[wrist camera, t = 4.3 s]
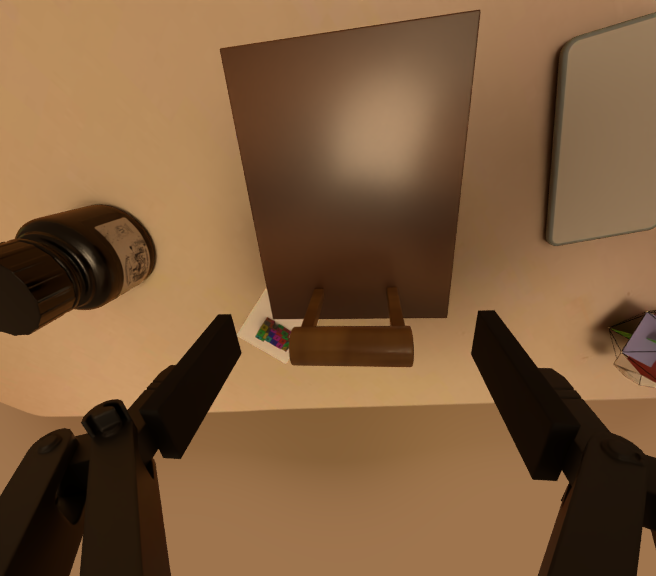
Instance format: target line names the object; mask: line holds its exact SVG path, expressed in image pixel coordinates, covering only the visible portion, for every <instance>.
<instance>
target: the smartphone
mask: <svg viewBox="0 0 656 576" xmlns="http://www.w3.org/2000/svg"><path fill="white" fill-rule="evenodd" d="M654 227H656V12H655V13H652V14H648V15H645V16H642V17H639V18H635V19H632V20H629V21H625V22H622V23H619V24H616V25H612V26H609V27H606V28H602V29H599V30H596V31H592V32H589V33H586V34H583V35H579V36H576V37H574V38H572V39H571V40H569V41H568V42H567V43H566V44H565V45H564V47H563V48H562V50H561V52H560V56H559V69H558V82H557V95H556V108H555V122H554V135H553V148H552V161H551V175H550V188H549V201H548V215H547V228H546V241H547V242H548V243H549V244H551V245H553V246H560V245H565V244H571V243H577V242H583V241H588V240H594V239H600V238H606V237H611V236H617V235H623V234H629V233H634V232H640V231H646V230H650V229H653V228H654Z"/></svg>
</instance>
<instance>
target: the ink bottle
mask: <svg viewBox="0 0 656 576" xmlns="http://www.w3.org/2000/svg"><path fill="white" fill-rule="evenodd" d="M153 265H154V250H153V246H152V243H151V240H150V238H149V236H148V234H147V233H146V231H145V230H144V228H143V227H142V226H141V225H140V224H139V223H138V222H137V221H136V220H135V219H133V218H132V217H131V216H129V215H128V214H126V213H125V212H123V211H121V210H119V209H116V208H113V207H110V206H106V205H91V206H86V207H82V208H78V209H74V210H69V211H65V212H61V213H57V214H53V215H48V216H44V217H40V218H37V219H33V220H31V221H29V222H27V223H25V224H24V225H23V226H22V227H21V228H20V229H19V231H18V232H17V234H16V237H15V239H13V240H9V241H7V242H1V243H0V332H4V333H8V334H12V335H14V336H17V335H29V334H31V333H33V332H35V331H36V330H38V329H40V328H42V327H43V326H45V325H47V324H49V323H50V322H52V321H54V320H56V319H57V318H59V317H61V316H62V315H64V314H65V313H67V312H69V311H71V310H73V309H77V310H91V309H96V308H99V307H101V306H103V305H105V304H107V303H109V302H110V301H112V300H114V299H116V298H117V297H119V296H120V295H122V294H124V293H125V292H127V291H128V290H130V289H131V288H133V287H135V286H136V285H138V284H139V283H141V282H142V281H143V280H145V279H146V278H147V277H148V276H149V274H150V273H151V271H152V269H153Z"/></svg>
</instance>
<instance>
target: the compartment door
mask: <svg viewBox="0 0 656 576" xmlns="http://www.w3.org/2000/svg"><path fill="white" fill-rule="evenodd" d="M479 20H480V10H474V11H467V12H460V13H454V14H447V15H440V16H434V17H427V18H420V19H414V20H407V21H400V22H394V23H387V24H380V25H373V26H367V27H360V28H353V29H347V30H340V31H333V32H327V33H320V34H313V35H307V36H300V37H293V38H287V39H280V40H273V41H267V42H260V43H253V44H247V45H240V46H233V47H227V48H221V49H220V53H221V58H222V63H223V68H224V73H225V78H226V83H227V89H228V94H229V99H230V104H231V109H232V114H233V119H234V124H235V129H236V134H237V139H238V144H239V149H240V154H241V160H242V165H243V170H244V175H245V180H246V185H247V190H248V195H249V200H250V205H251V210H252V215H253V220H254V225H255V230H256V236H257V241H258V246H259V251H260V256H261V261H262V266H263V271H264V276H265V281H266V286H267V291H268V296H269V301H270V307H271V312H272V317H273V319H304V320H303V322H302V325H301V327H293V328H292V330H291V333H290V338H289V357H290V361H291V364H292V365H304V366H374V367H412V366H413V361H414V345H413V335H412V330H411V327H410V326H405V324H404V319H403V318H447V314H448V305H449V296H450V286H451V277H452V268H453V259H454V250H455V240H456V231H457V222H458V213H459V204H460V195H461V185H462V176H463V167H464V158H465V149H466V139H467V130H468V121H469V112H470V103H471V94H472V84H473V75H474V66H475V57H476V48H477V38H478V29H479ZM373 318H390V326H319V327H316V326H317V323H318V319H373Z"/></svg>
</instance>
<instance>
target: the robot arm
mask: <svg viewBox="0 0 656 576" xmlns="http://www.w3.org/2000/svg"><path fill="white" fill-rule="evenodd" d="M240 355H241V349H240V345H239V342H238V338H237V334H236V331H235V327H234V323H233V320H232V316H231V314H218V315H217V317H216V318H215V319H214V320H213V321H212V323H211V324H210V325H209V326H208V327H207V329H206V330H205V331H204V332H203V333H202V335H201V336H200V337H199V338H198V339H197V341H196V342H195V343H194V344H193V345H192V347H191V348H190V349H189V350H188V351H187V353H186V354H185V355H184V356H183V357H182V359H181V360H180V361H179V362H178V363H177V365H170V366H169V367H168V368H166V369H165V370H163V371H162V372H160V374H159V375H158V376H157V377H156V378H155V379H154V380H153V383H151V384H150V385H149V386H148V387H147V390H145V391H144V392H143V393H142V394H141V395H140V396H139V398H138V399H137V400H136V401H135V402H134V403H133V404H132V406H131V407H130V408H129V409H128V410H127V409H126V407H125V405H124V403H123V402H122V401H121V400H118V399H115V400H109V401H106V402H103V403H101V404H99V405H97V406H95V407H94V408H93V409H91V410H90V411H89V412H88V413H87V414H86V415H85V416H84V417H83V419H82V422H81V423H82V425H83V426H84V428H85V429H86V431H87V433H88V434H83V435H79V436H74V434H73V433H72V431H71V430H70V429H66V428H64V429H58V430H55V431H53V432H51V433H49V434H47V435H45V436H43V437H42V438H40V439H39V440H38V441H37V442H35V443H34V444H33V445H32V447H31V448H30V449H29V450H28V452H27V453H26V455H25V456H24V458H23V460H22V461H21V463H20V465H19V466H18V468H17V469H16V471H15V473H14V474H13V476H12V478H11V479H10V481H9V483H8V484H7V486H6V487H5V489H4V491H3V493H2V494H1V496H0V576H69V575H70V572H71V569H72V566H73V563H74V560H75V557H76V554H77V551H78V548H79V545H80V542H81V539H82V536H83V543H82V555H81V567H80V576H171V573H170V566H169V558H168V551H167V544H166V537H165V529H164V522H163V515H162V507H161V500H160V492H159V485H158V478H157V471H156V463H155V461H154V459H153V456H154V455H155V453H156V452H157V450H158V449H159V450H160V452H161V454H162V456H163V458H174V459H181V457H182V456H183V454H184V452H185V450H186V449H187V447H188V445H189V444H190V442H191V440H192V438H193V437H194V435H195V433H196V431H197V430H198V428H199V426H200V425H201V423H202V421H203V419H204V417H205V416H206V414H207V412H208V411H209V409H210V407H211V405H212V404H213V402H214V400H215V399H216V397H217V395H218V393H219V392H220V390H221V388H222V386H223V385H224V383H225V381H226V379H227V378H228V376H229V374H230V373H231V371H232V369H233V367H234V366H235V364H236V362H237V360H238V359H239V357H240ZM471 355H472V357H473V359H474V361H475V363H476V365H477V367H478V369H479V371H480V373H481V375H482V377H483V380H484V382H485V384H486V386H487V388H488V390H489V392H490V394H491V396H492V398H493V400H494V402H495V404H496V406H497V408H498V410H499V412H500V414H501V416H502V418H503V420H504V422H505V424H506V426H507V428H508V430H509V432H510V434H511V436H512V438H513V441H514V442H515V445H516V447H517V449H518V451H519V453H520V455H521V457H522V459H523V461H524V463H525V465H526V467H527V469H528V471H529V473H530V475H531V477H532V479H533V480H550V481H557V480H558V477H559V475H560V473H561V471H563V473H564V474H565V476H566V478H567V479H568V481H569V484H568V486H567V488H566V491H565V493H564V495H563V497H562V499H561V501H562V504H561V507H560V510H559V513H558V516H557V519H556V523H555V525H554V528H553V531H552V534H551V537H550V540H549V543H548V546H547V550H546V553H545V556H544V559H543V561H542V565H541V568H540V571H539V574H538V576H637V567H638V560H639V551H640V542H641V535H642V527H645V528H648V529H650V530H651V532H652V536H653V540H654V543H655V547H656V458H654V457H651V456H648V455H645V454H644V453H643V452H642V450H641V449H639V448H638V447H637V446H636V445H634V444H633V443H632V442H630V441H628V440H627V439H625V438H623V437H621V436H618V435H616V434H613V433H611V432H610V431H609V430H608V429H607V428H606V426H605V425H604V424H603V423H602V422H601V420H600V419H599V418H598V417H597V416H596V414H595V413H594V412H593V411H592V410H591V408H590V407H589V406H588V405H587V404H586V403H585V401H584V400H583V399H581V396H580V395H579V394H578V393H577V392H576V390H574V388H573V387H572V386H571V384H570V383H569V382H568V381H567V380H566V378H565V377H563V376H562V375H560V374H559V373H557V372H556V371H555V370H553V369H552V368H537V366H536V365H535V364H534V362H533V361H532V360H531V358H530V357H529V356H528V354H527V353H526V352H525V350H524V349H523V348H522V346H521V345H520V344H519V342H518V341H517V340H516V338H515V337H514V336H513V334H512V333H511V332H510V330H509V329H508V328H507V326H506V325H505V324H504V322H503V321H502V320H501V318H500V317H499V316H498V314H497V313H496V312H495V310H487V311H478V315H477V321H476V327H475V333H474V339H473V346H472V352H471Z"/></svg>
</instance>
